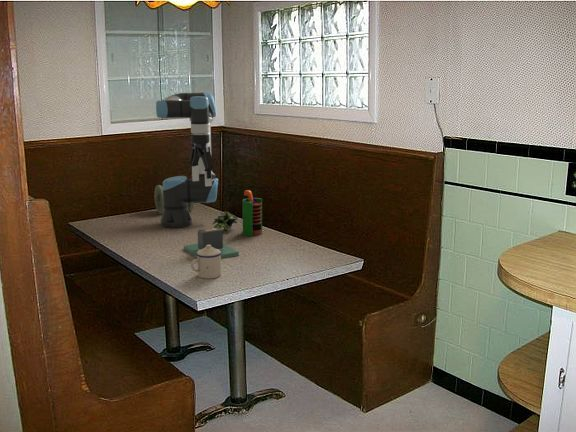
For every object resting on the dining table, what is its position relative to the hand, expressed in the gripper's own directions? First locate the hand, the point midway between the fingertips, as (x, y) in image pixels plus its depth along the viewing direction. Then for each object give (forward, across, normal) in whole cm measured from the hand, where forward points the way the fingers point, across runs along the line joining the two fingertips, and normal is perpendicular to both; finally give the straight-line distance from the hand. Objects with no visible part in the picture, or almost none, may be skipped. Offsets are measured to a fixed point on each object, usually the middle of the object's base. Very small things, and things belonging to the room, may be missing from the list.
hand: (202, 183), depth 274 cm
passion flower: (+27, +13, -17) cm, 34 cm away
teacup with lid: (+27, -41, +17) cm, 52 cm away
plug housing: (+25, -14, +3) cm, 29 cm away
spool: (+27, +64, -11) cm, 70 cm away
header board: (+27, -14, +3) cm, 30 cm away
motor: (+27, +4, -26) cm, 38 cm away
